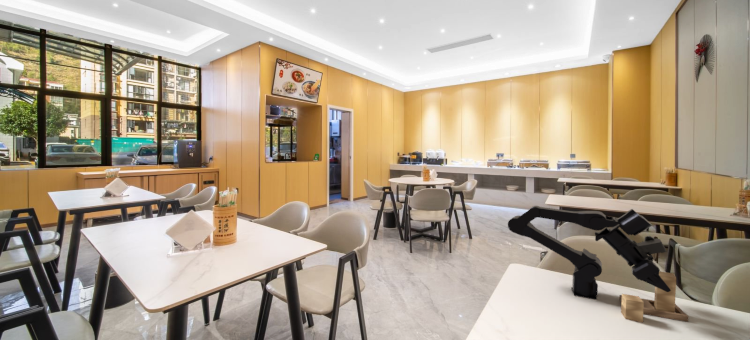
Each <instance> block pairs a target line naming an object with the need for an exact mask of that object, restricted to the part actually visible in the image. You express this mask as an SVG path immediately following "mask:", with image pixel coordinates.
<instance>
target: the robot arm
mask: <svg viewBox="0 0 750 340" xmlns="http://www.w3.org/2000/svg"><path fill="white" fill-rule="evenodd" d="M537 218H540V219H545V220H551V221H552V220H553V221H558V222H564V223H573V224H575V225H578V226H580V227H583V228H586V229H589V230H593V231H594V236H595V237H594V240H595V242H598V241H600V240H604V242H606V243H607V245H608V246H610V247H611V249H613V250H614V251H615V253H616V255H617V256H620V257H621V258H622V259H623V260H625V261H626V263H627V265H628V266H629V267H630V268H631V275H632V276H634V277H635V278H636V279H637V280H639V281H643V282H644V283H647V284H649V285H650V286H651V285H652V286H654V288H655V287H657V288H660V289H662V290H664V291H666V292H669V291H671V289H670V288H669V287H668V286H667V284H666V283H665V282H664V281H663V279H662V278H661V277H660V275H659V271H660V270H661V269H660V268H659V266H658V265H657V264H656V263H655V262H654V256H653V254H654V255H655V254H660V253H661V254H663V253H666V252H667V249H666V247H665V245H664V243H663V242H662V240H661V239H660V238H654V237H653V236H651V235H646V236H644V239H643V240H642V241H641V242H637V241H635V240H633V239H631V238H630V237H628V236H638V235H639V234H641V233H643V232H644V231H646V230H647V229H649V228H651V227H653V224H652V223H650V221H649V220H648V219H646V217H644V216H643V215H641V214H640V213H638V212H637V211H635V210H634V209H633V208H631V209H629V210H628V211H627V212H626V213H624V214H623V215H620V217H615V216H610V215H609V216H608V215H606V214H604V213H603V212H602V211H599V210H579V211H575V210H564V209H558V208H552V207H544V206H539V205H533V206H532V207H530V208H529V209H528V210H527V211H525V212H524V213H522V214H521V215H514V216H513V217H512V218H510V219H508V222H507V229H508V230H509V231H511V232H512V233H514V234H517V235H519V236H522V237H525V238H528V239H529V238H530V239H531V240H533V241H535V242H537V243H539V244H540V245H542V246H543V247H545V248H547V249H549V250H551V251H552V252H554V253H555V254H558V255H559V256H561V257H563V258H564V259H566V260H568V261H569V262H570V263H571V264H572V265H573V266H574V270H573V273H572V287H571V291H572V295H573V296H575V297H580V298H587V299H592V300H597V299H598V298H597V297H598V289H599V288H598V287H599V285H598V283H597V280H596V278H597V277H599V276H600V275H601V274H602V272H603V263H602V261H601V259H600V258H599V257H597V254H595V253H593V252H590V251H589V250H587V249H585V248H583V250H582V251H580V250H577V249H574V248H572V247H571V246H569V245H567V244H565V243H564V242H562V241H560V240H558V239H556V238H555V237H553V236H551V235H549V234H547V233H545V232H544V231H542V230H540V229H538V228H537V227H536V226H535V225H534V224H533V223H531V222H532V221H533V220H535V219H537ZM627 235H628V236H627Z"/></svg>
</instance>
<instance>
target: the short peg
mask: <svg viewBox="0 0 750 340" xmlns="http://www.w3.org/2000/svg"><path fill="white" fill-rule="evenodd" d="M621 295H622V303H621V307H620V313H621V315H622V316H623V319H625V320H629V321H633V322H639V323H643V322H644V314H643V307H644V302H643V301H642V300H641V299H640V298H641V297H640V296H637V295H633V294H632V295H631V294H626V293H621Z"/></svg>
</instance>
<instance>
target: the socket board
mask: <svg viewBox="0 0 750 340" xmlns="http://www.w3.org/2000/svg"><path fill="white" fill-rule="evenodd" d="M640 299H641V300H642V301H643V302H644V307H643V315H648V316H649V315H650V316H655V317H660V318H666V319H671V320H675V321H676V320H677V321H682V322H689V315H687V314H686V313H685V312H684V311H683V310H682V309H681V308H680V307H679V306H678V305H677V304H676V303H675V313H673V312H668V311H662V310H656V309H655V308H654V300H653V299H648V298H647V299H646V298H641V297H640ZM619 302H621V303H622V294H619Z"/></svg>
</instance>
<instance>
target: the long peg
mask: <svg viewBox="0 0 750 340" xmlns="http://www.w3.org/2000/svg"><path fill="white" fill-rule="evenodd" d="M659 275H660V277H661V278H662V279H663V281H664V282H665V283H666V284H667V286H668V287H669V288H670V289H671V291H669V292H666V291H664V290H662V289H660V288H657V287H655V286H654V306H653V307H654V308H655V309H656V310H662V311H668V312H673V313H675V304H676V292H677V291H676V290H677V276H676V275H675V273H672V272H665V271H659Z"/></svg>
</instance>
